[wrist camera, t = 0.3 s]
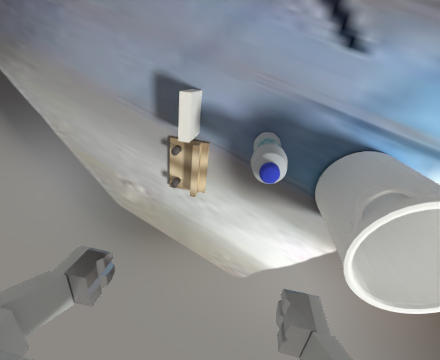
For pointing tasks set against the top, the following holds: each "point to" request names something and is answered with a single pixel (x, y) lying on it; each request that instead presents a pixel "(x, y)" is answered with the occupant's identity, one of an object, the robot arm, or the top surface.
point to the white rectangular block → (189, 114)
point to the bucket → (384, 230)
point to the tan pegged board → (188, 165)
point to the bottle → (268, 159)
